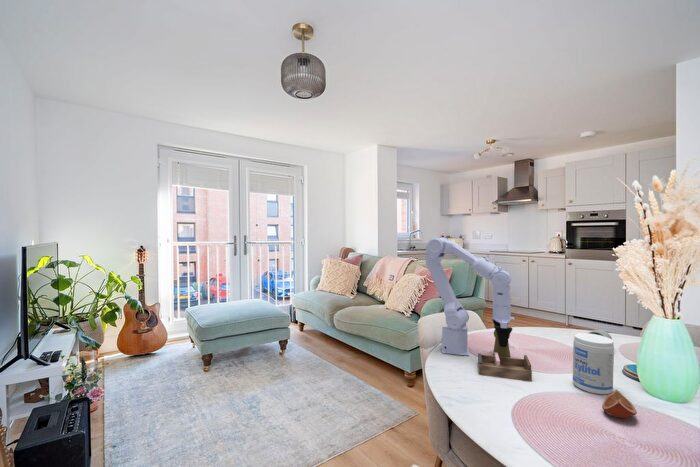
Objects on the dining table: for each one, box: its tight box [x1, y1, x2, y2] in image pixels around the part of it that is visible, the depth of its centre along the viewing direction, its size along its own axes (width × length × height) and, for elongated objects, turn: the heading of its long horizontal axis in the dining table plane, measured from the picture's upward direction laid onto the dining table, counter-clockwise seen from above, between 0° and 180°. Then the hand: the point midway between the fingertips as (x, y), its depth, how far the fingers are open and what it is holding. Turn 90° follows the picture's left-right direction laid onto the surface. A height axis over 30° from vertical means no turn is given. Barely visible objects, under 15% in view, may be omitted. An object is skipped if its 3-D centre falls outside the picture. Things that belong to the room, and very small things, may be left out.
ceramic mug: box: [587, 329, 613, 340], centre depth 129 cm, size 11×8×8 cm
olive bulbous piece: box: [492, 329, 512, 358], centre depth 118 cm, size 6×6×11 cm
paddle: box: [495, 353, 500, 367], centre depth 110 cm, size 1×8×4 cm, turn 161°
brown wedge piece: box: [601, 389, 638, 419], centre depth 83 cm, size 8×7×5 cm
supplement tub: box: [572, 332, 615, 395], centre depth 97 cm, size 10×10×15 cm
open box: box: [477, 352, 533, 382], centre depth 109 cm, size 15×10×5 cm, turn 71°
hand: (501, 343), depth 118 cm, fingers open, 7 cm apart
